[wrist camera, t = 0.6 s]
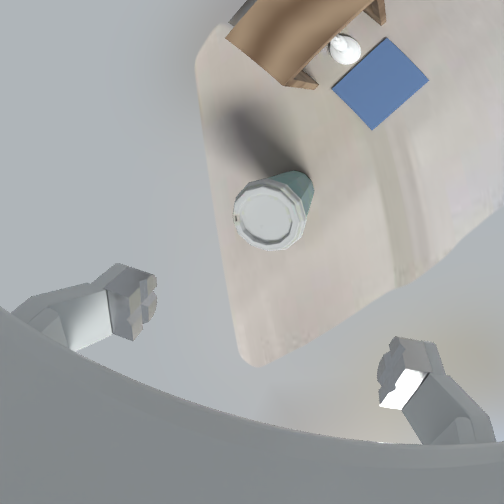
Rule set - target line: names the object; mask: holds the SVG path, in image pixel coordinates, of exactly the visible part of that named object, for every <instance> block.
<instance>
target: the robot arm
mask: <svg viewBox="0 0 504 504" xmlns="http://www.w3.org/2000/svg"><path fill="white" fill-rule="evenodd" d="M156 286H157V280H156V277H155V275H153V274H150V273H147V272H144V271H141V270H138V269H135V268H132V267H129V266H126V265H123V264H120V263H117V264H115V265H113V266H112V267H111V268H110V269H108V270H107V271H106V272H105V273H103V274H102V275H101V276H100V277H98V278H97V279H96V280H95V281H94V282H92V283H91V284H89V283H84V284H80V285H76V286H72V287H68V288H64V289H60V290H56V291H52V292H48V293H44V294H40V295H36V296H32V297H30V298H29V299H27V300H26V301H25V302H24V303H22V304H21V305H20V306H19V307H17V308H16V309H15V310H14V311H13V312H11V313H9V312H8V311H6V310H5V309H3V308H2V307H0V504H504V441H502V442H496V439H495V435H494V431H493V428H492V424H491V421H490V418H489V416H488V415H487V414H486V413H485V412H484V411H483V410H482V409H481V408H480V407H479V405H478V404H477V403H476V402H475V401H474V400H473V399H472V398H471V397H470V396H469V395H468V394H467V393H466V392H465V391H464V390H463V389H462V388H461V387H460V386H459V385H458V384H457V383H456V382H455V381H454V380H453V379H452V378H451V377H450V376H448V375H446V374H445V371H444V368H443V364H442V362H441V358H440V356H439V353H438V350H437V347H436V344H435V343H434V342H428V341H419V340H413V339H408V338H403V337H397V336H395V337H394V338H393V339H392V341H391V343H390V344H389V347H390V351H389V352H388V353H386V354H384V355H383V357H382V359H381V361H380V363H379V367H378V372H377V379H378V382H379V383H380V384H381V386H382V387H381V388H380V390H379V401H380V406H382V407H389V408H396V409H402V412H403V414H404V415H405V417H406V418H407V420H408V422H409V423H410V425H411V426H412V428H413V430H414V431H415V433H416V435H417V436H418V438H419V439H420V441H421V443H422V444H423V445H419V444H396V443H383V442H372V441H363V440H354V439H346V438H339V437H332V436H326V435H320V434H314V433H309V432H303V431H298V430H293V429H289V428H284V427H279V426H275V425H270V424H266V423H262V422H258V421H254V420H250V419H246V418H243V417H239V416H236V415H232V414H229V413H225V412H222V411H219V410H215V409H212V408H209V407H206V406H202V405H199V404H197V403H193V402H191V401H188V400H185V399H182V398H179V397H176V396H174V395H171V394H168V393H165V392H163V391H160V390H158V389H155V388H153V387H150V386H148V385H145V384H143V383H141V382H138V381H136V380H133V379H131V378H128V377H126V376H124V375H122V374H120V373H117V372H115V371H113V370H111V369H109V368H107V367H105V366H102V365H100V364H98V363H96V362H94V361H92V360H90V359H88V358H86V357H84V356H82V355H80V354H78V353H77V352H76V351H78V350H80V349H82V348H85V347H86V346H88V345H91V344H93V343H95V342H98V341H100V340H102V339H104V338H106V337H108V336H110V335H112V333H113V334H115V335H118V336H121V337H123V338H126V339H129V340H132V341H134V340H135V339H136V337H137V336H138V335H139V334H140V332H141V331H142V330H143V326H142V324H144V323H147V322H149V321H150V320H151V318H152V317H153V315H154V313H155V310H156V305H157V296H156V294H155V293H154V291H153V290H154V288H155V287H156Z"/></svg>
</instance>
